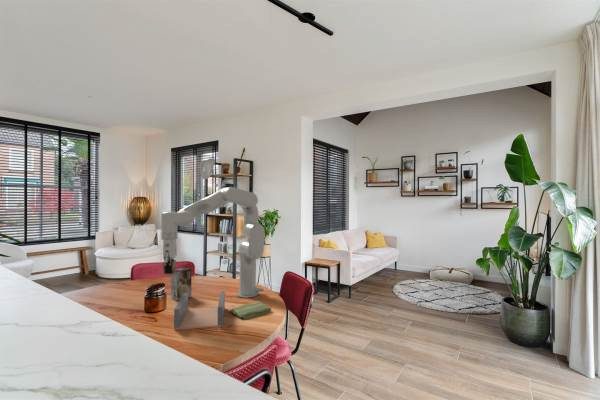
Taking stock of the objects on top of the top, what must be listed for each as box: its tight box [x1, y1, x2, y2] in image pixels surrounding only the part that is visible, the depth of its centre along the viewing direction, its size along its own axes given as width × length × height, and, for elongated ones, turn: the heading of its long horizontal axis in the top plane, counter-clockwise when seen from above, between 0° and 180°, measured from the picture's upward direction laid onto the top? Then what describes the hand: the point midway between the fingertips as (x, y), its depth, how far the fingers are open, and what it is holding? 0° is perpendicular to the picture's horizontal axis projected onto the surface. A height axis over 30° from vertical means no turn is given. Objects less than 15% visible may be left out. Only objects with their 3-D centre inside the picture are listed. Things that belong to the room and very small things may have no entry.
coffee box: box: [170, 267, 192, 301], centre depth 174 cm, size 9×6×16 cm
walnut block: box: [162, 259, 177, 275], centre depth 156 cm, size 5×5×6 cm
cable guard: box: [173, 291, 226, 331], centre depth 144 cm, size 20×23×9 cm
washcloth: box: [229, 300, 272, 320], centre depth 153 cm, size 13×18×3 cm
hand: (169, 271), depth 156 cm, fingers closed on walnut block, 5 cm apart
